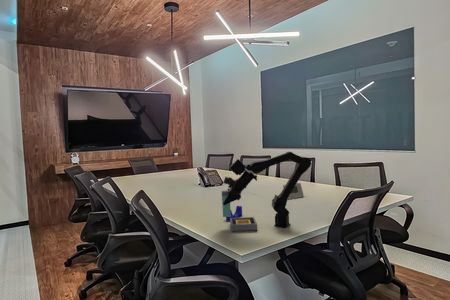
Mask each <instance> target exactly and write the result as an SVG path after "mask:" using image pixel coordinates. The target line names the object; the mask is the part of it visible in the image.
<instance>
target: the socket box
mask: <svg viewBox="0 0 450 300" xmlns="http://www.w3.org/2000/svg"><path fill="white" fill-rule="evenodd" d="M229 223H230V230H231V233H238V232H239V233H241V232H258V223H257V221H256V218H255V217H254V216H248V217H247V216H245V217H243V216H241V217H238V218H230V222H229Z"/></svg>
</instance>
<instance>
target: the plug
mask: <svg viewBox="0 0 450 300" xmlns="http://www.w3.org/2000/svg"><path fill="white" fill-rule="evenodd" d="M228 191H229V190H228V189H226V190H221V201H222V203H221V204H222V218H226V217H231V211H232V209H231V202H230V203H228V204H226V205H224V204H223V203H224V201H225V200H226V198H227V196H228Z"/></svg>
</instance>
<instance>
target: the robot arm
mask: <svg viewBox="0 0 450 300" xmlns="http://www.w3.org/2000/svg"><path fill="white" fill-rule="evenodd" d="M286 161H291V162H293V163H295V166H294V170H293V172H292V173H291V175H290V177H289V179H288V180H287V182H286V185H285V184H284V185H285V187H284V188H282V191H281V192H280V194H278V195H277V194H274V197H273V199H272V200H271V208H272V209H273V210H274V211H275V212H276V213H275V216H274V227H278V228H283V229H285V228H288V227H289V226H292V225H291V223H290V211H289V210H288V209H287V208H286V206H287V202H288V200H289V199H288V197H289V195H290V193H291V192H292V190H293V188H294V187H295V185H296V183H299V180H300V178H301V177H302V175H304V173H306V172H307V171H308V170H309V168H310V167H311V166H312V161H311V159H310V158H308V157H305V156H300V155H297V154H295V153H294V152H292V151H286V152H285V153H282V154H278V155H275V156H273V157H270V158H268V159H264V160H256V161H252V162H251V163H250V164H246V165H245V164H244V163H242V162H241V160H240V159H238V158H237V159H236V160H235V161H234V162H233V163H231V165H230V166H229V167H228V169H229V170H230V171H231V172H233V174H235V175H236V176H239V178H236V179H234V178H233V177H230V176H225V177H224V179H223V184H225V185H228V186H227V190H229V191H228V196H227V198H226V200H225V201H224V203H223V204H224V205H226V204H228V203H230V204H231V203H232V202H235V201H240V200H241V199H242V195H241V194H242V193H243V191H244V189H247V187H248V185H249V184H250V183H251V182H252V181H253V180H255V181H257V180H258V175H257V174H260V173H262V172H263V171H265V170H267V169H268V168H270V167H272V166H277V165H278V164H281V163H284V162H286Z"/></svg>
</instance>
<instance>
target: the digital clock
mask: <svg viewBox="0 0 450 300" xmlns="http://www.w3.org/2000/svg"><path fill="white" fill-rule="evenodd" d="M286 184H287V183H286ZM286 184H285V183H284V184H283V185H282V186H283V188H282V189H284V187H285V185H286ZM303 197H305V194H304V191H303V187H302V184H301V182H297V183H296V185H295V187H294V188H293V190H292V192H291V193H290V195H289V197H288V199H287V200H294V198H295V199H300V198H303Z"/></svg>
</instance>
